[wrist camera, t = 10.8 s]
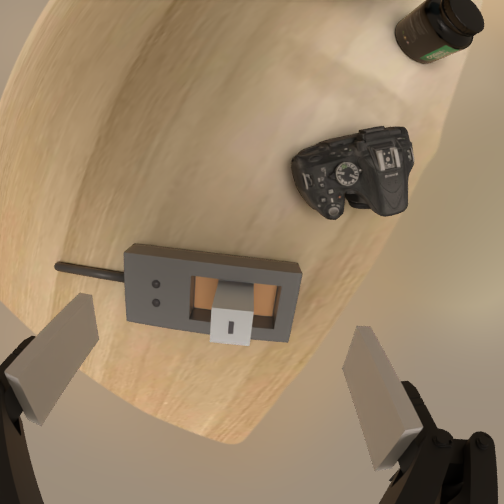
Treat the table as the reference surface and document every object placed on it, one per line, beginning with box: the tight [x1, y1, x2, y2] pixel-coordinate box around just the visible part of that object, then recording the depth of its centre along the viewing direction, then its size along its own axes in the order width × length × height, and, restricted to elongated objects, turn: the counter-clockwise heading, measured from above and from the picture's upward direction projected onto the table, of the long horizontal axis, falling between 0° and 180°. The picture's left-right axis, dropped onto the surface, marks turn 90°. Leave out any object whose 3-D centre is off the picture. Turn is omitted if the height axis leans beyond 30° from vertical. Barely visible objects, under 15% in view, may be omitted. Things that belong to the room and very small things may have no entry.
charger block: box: [210, 279, 254, 346], centre depth 33 cm, size 4×4×8 cm
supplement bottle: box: [396, 0, 484, 63], centre depth 22 cm, size 7×7×12 cm
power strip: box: [54, 244, 302, 342], centre depth 35 cm, size 33×9×4 cm, turn 83°
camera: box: [291, 126, 414, 220], centre depth 28 cm, size 13×10×10 cm
